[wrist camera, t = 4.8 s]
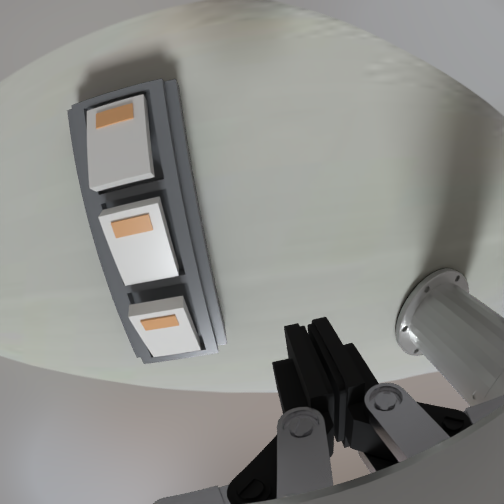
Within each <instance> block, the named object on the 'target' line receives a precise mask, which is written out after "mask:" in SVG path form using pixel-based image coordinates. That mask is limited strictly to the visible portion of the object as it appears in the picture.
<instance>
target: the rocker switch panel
mask: <svg viewBox="0 0 504 504" xmlns="http://www.w3.org/2000/svg"><path fill="white" fill-rule="evenodd" d="M142 94H144V96H145V98H146V100H147V107H148V119H149V130H150V140H151V150H152V159H153V167H154V175H155V177H153V178H148V179H144V180H140V181H136V182H132V183H127V184H124V185H120V186H116V187H112V188H108V189H104V190H101V191H97V192H96V191H94V190H92V189H90V188H89V175H88V157H87V111H88V110H91V109H94V108H97V107H100V106H103V105H107V104H110V103H113V102H117V101H120V100H123V99H127V98H131V97H134V96H138V95H142ZM67 111H68V119H69V127H70V134H71V140H72V146H73V152H74V158H75V163H76V169H77V174H78V179H79V183H80V188H81V193H82V197H83V201H84V205H85V209H86V213H87V217H88V221H89V225H90V229H91V232H92V236H93V239H94V243H95V246H96V250H97V253H98V256H99V259H100V263H101V266H102V269H103V272H104V275H105V278H106V281H107V284H108V287H109V289H110V292H111V295H112V298H113V300H114V303H115V306H116V308H117V311H118V314H119V316H120V319H121V321H122V324H123V326H124V329H125V331H126V334H127V336H128V338H129V341H130V343H131V345H132V348H133V350H134V352H135V355H136V357H137V358H138V357H141V359H142V361H143V363H144V364H146V363H154V362H162V361H169V360H176V359H183V358H189V357H196V356H202V355H208V354H213V353H218V345H223V344H227V339H226V331H225V326H224V322H223V318H222V313H221V309H220V305H219V300H218V296H217V291H216V287H215V282H214V278H213V273H212V269H211V264H210V259H209V254H208V250H207V245H206V240H205V235H204V230H203V225H202V220H201V215H200V210H199V204H198V199H197V194H196V188H195V183H194V177H193V172H192V166H191V161H190V155H189V149H188V143H187V137H186V131H185V125H184V118H183V112H182V105H181V99H180V92H179V85H178V83H177V81H176V79H174V80H169V81H163V79H157V80H153V81H149V82H145V83H141V84H137V85H133V86H130V87H126V88H123V89H119V90H116V91H113V92H109V93H106V94H103V95H100V96H97V97H94V98H91V99H88V100H85V101H82V102H80V103H77V104H74V105H72V109H70V110H67ZM159 196H160V199H161V203H162V207H163V211H164V215H165V219H166V222H167V226H168V230H169V233H170V237H171V241H172V244H173V248H174V251H175V255H176V258H177V262H178V265H179V276H175V277H170V278H164V279H159V280H154V281H148V282H143V283H138V284H132V285H127V286H125V284H124V282H123V280H122V277H121V275H120V272H119V270H118V268H117V265H116V263H115V260H114V258H113V255H112V253H111V250H110V248H109V245H108V242H107V240H106V237H105V234H104V232H103V229H102V226H101V223H100V221H99V218H98V217H99V215H100V213H101V212H102V210H104V209H108V208H112V207H116V206H120V205H124V204H129V203H133V202H137V201H141V200H146V199H150V198H155V197H159ZM178 296H183V297H184V300H185V303H186V305H187V308H188V311H189V313H190V316H191V318H192V321H193V324H194V326H195V329H196V331H197V334H198V336H199V339H200V347H201V350H198V351H192V352H186V353H180V354H173V355H166V356H159V357H153V355H152V354H151V352H150V351H149V349H148V348H147V346H146V345H145V343H144V342H143V340H142V338H141V337H140V335H139V334H138V332H137V331H136V329H135V327H134V326H133V324H132V322H131V321H130V319H129V318H128V313H129V305H132V304H138V303H143V302H149V301H155V300H161V299H166V298H172V297H178Z"/></svg>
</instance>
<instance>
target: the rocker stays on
mask: <svg viewBox="0 0 504 504" xmlns="http://www.w3.org/2000/svg"><path fill="white" fill-rule="evenodd" d="M87 157H88V175H89V188H90V189H92V190H94V191H96V192H97V191H101V190H104V189H108V188H112V187H116V186H120V185H124V184H127V183H132V182H136V181H140V180H144V179H148V178H153V177H155V175H154V167H153V159H152V150H151V140H150V130H149V119H148V107H147V100H146V98H145V96H144V94H142V95H138V96H134V97H131V98H127V99H123V100H120V101H117V102H113V103H110V104H107V105H103V106H100V107H97V108H94V109H91V110H88V111H87Z"/></svg>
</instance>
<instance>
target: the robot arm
mask: <svg viewBox="0 0 504 504" xmlns="http://www.w3.org/2000/svg"><path fill="white" fill-rule="evenodd" d="M284 330H285V337H286V344H287V351H288V358H289V359H285V360H281V361H276V362H272V364H273V370H274V375H275V380H276V385H277V390H278V393H279V398H280V402H281V407H282V411H283V415H282V416H281V418H280V419H279V420H278V425H277V435H276V437H275V438H274V439H273V440H272V441H271V442H270V443H269V444H268V445H267V446H266V447H265V448H264V450H262V452H260V453H259V455H257V457H256V458H255V459H254V460H253V461H252V462H251V463H250V464H249V465H248V466H247V467H246V468H245V469H244V470H243V471H242V472H240V473H239V474H238V475H237V476H236V477H235V478H234V479H233V480H232V482H231V483H230V484H229V485H226V486H222V487H218V486H214V487H210V488H206V489H202V490H198V491H194V492H190V493H185V494H181V495H176V496H171V497H166V498H162V499H159V500H157V501H156V502H155V503H153V504H504V318H503V317H502V316H500V315H499V314H498V313H496V312H495V311H493V310H492V309H491V308H489V307H488V306H486V305H485V304H484V303H482V302H481V301H479V300H478V299H477V298H475V297H474V296H472V295H471V294H469V287H468V283H467V280H466V278H465V277H464V276H463V275H462V274H461V273H459V272H458V271H456V270H454V269H449V268H446V269H441V270H438V271H436V272H433V273H432V274H430V275H429V276H427V277H426V278H425V279H424V280H423V281H421V282H420V283H419V284H418V285H417V286H416V288H415V289H414V290H413V291H412V292H411V294H410V295H409V297H408V298H407V300H406V301H405V303H404V305H403V307H402V309H401V312H400V314H399V317H398V320H397V324H396V340H397V342H398V345H399V346H400V347H401V348H402V350H403V351H405V352H406V353H407V354H409V355H414V356H418V355H424V356H425V357H426V358H427V359H428V360H429V361H430V362H431V363H432V364H433V365H434V366H435V367H436V369H437V370H438V371H439V372H440V373H441V374H442V375H443V376H444V377H445V378H446V379H447V381H448V382H449V383H450V384H451V385H452V386H453V387H454V388H455V390H456V391H457V392H458V393H459V394H460V395H461V396H462V398H463V399H464V400H465V401H466V402H467V403H468V404H469V406H470V407H468V408H466V409H465V411H464V412H462V411H459V410H456V409H450V408H445V407H439V406H434V405H429V404H424V403H419V402H416V401H415V400H414V399H413V398H412V397H411V396H410V395H409V394H408V393H407V392H406V391H405V390H404V389H403V388H401V387H400V386H399V385H396V384H393V383H380V384H379V383H378V382H377V380H376V379H375V377H374V375H373V374H372V372H371V371H370V369H369V367H368V366H367V364H366V363H365V361H364V360H363V358H362V356H361V355H360V353H359V352H358V350H357V349H356V347H355V346H354V344H353V343H349V344H346V345H343V344H342V342H341V341H340V339H339V337H338V336H337V334H336V332H335V331H334V329H333V327H332V326H331V324H330V322H329V321H328V319H327V318H326V317H323V318H318V319H314V320H312V324H309V325H308V333H307V331H306V328H305V326H299V324H298V323H297V324H293V325H288V326H284ZM334 436H335V438H336V441H337V442H339V441H342V443H343V445H344V448H346V447H349V446H350V448H352V449H355V450H358V453H359V456H360V458H361V459H362V460H363V462H364V463H365V465H366V466H367V468H368V469H369V471H370V472H371V474H368V475H365V476H363V477H360V478H357V479H354V480H351V481H347V482H344V483H341V484H337V485H334V486H333V480H332V471H331V464H330V457H331V456H332V454H333V447H334Z"/></svg>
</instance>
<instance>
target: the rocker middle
mask: <svg viewBox="0 0 504 504" xmlns="http://www.w3.org/2000/svg"><path fill="white" fill-rule="evenodd" d="M98 218H99V221H100V223H101V226H102V229H103V232H104V234H105V237H106V240H107V242H108V245H109V248H110V250H111V253H112V255H113V258H114V260H115V263H116V265H117V268H118V270H119V272H120V275H121V277H122V280H123V282H124V284H125V286H127V285H132V284H138V283H143V282H148V281H154V280H159V279H164V278H170V277H175V276H179V265H178V262H177V258H176V255H175V251H174V248H173V244H172V241H171V237H170V233H169V230H168V226H167V222H166V219H165V215H164V211H163V207H162V203H161V199H160V196H159V197H155V198H150V199H146V200H141V201H137V202H133V203H129V204H124V205H120V206H116V207H112V208H108V209H104V210H102V212H101V213H100V215H99V217H98Z"/></svg>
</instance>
